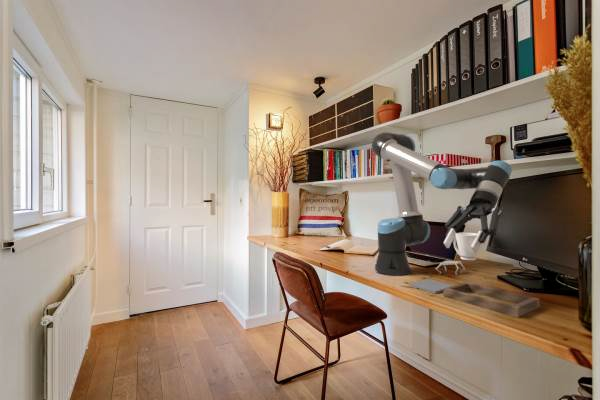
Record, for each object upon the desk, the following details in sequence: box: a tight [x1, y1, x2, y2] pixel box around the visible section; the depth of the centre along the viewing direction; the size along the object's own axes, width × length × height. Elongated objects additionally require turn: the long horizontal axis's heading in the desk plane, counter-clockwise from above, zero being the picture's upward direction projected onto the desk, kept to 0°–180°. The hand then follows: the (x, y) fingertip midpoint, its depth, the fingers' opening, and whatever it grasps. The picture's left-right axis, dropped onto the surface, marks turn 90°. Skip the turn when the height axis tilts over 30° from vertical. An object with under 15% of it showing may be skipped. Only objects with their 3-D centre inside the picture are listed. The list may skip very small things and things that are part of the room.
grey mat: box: [407, 278, 454, 294], centre depth 104 cm, size 11×11×1 cm
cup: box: [453, 232, 479, 261], centre depth 95 cm, size 7×10×8 cm
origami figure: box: [435, 260, 466, 276], centre depth 123 cm, size 12×8×5 cm
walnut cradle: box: [443, 281, 540, 318], centre depth 89 cm, size 21×13×2 cm, turn 31°
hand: (459, 247), depth 92 cm, fingers closed on cup, 8 cm apart
